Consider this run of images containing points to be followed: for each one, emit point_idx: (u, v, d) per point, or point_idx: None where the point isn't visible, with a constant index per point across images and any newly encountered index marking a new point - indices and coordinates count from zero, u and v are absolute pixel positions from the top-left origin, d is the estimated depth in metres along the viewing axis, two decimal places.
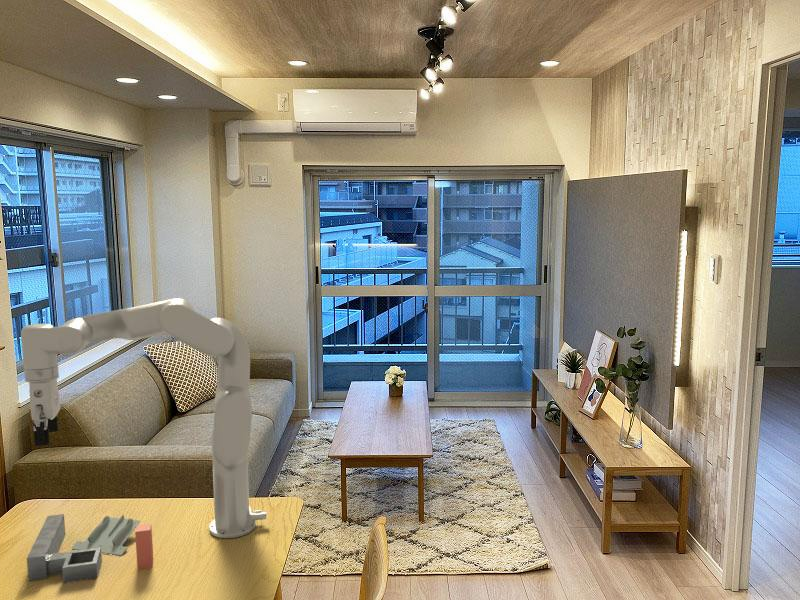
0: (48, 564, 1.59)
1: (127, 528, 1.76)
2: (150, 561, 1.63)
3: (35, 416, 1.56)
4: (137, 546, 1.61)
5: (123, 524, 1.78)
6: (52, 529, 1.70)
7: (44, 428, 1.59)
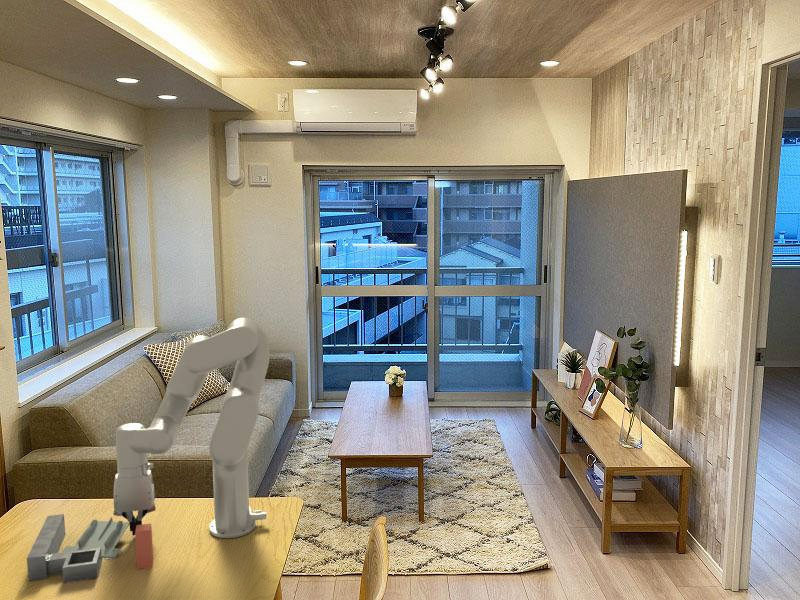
0: (48, 564, 1.59)
1: (117, 530, 1.75)
2: (150, 561, 1.63)
3: (155, 507, 1.78)
4: (137, 546, 1.61)
5: (112, 527, 1.77)
6: (52, 529, 1.70)
7: None
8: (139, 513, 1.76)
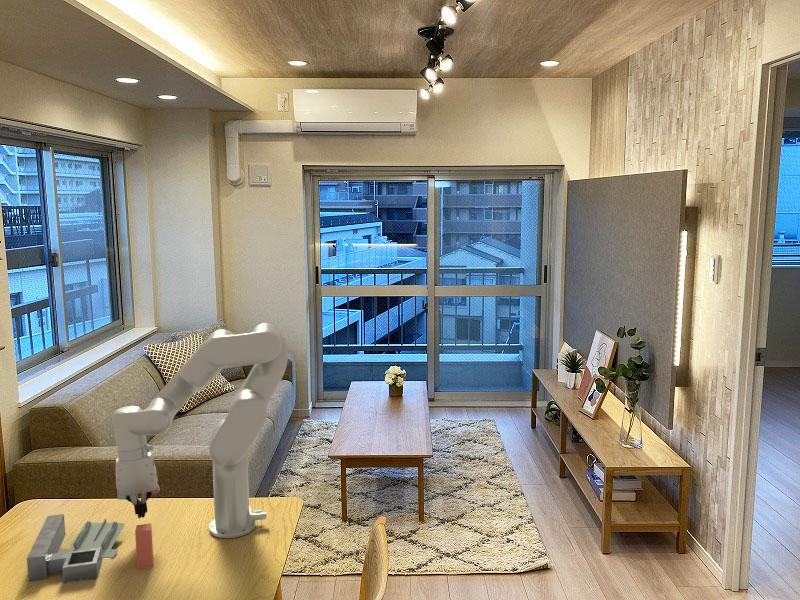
0: (48, 564, 1.59)
1: (113, 531, 1.75)
2: (150, 561, 1.63)
3: (159, 489, 1.77)
4: (137, 546, 1.61)
5: (107, 528, 1.76)
6: (52, 529, 1.70)
7: None
8: (143, 495, 1.75)
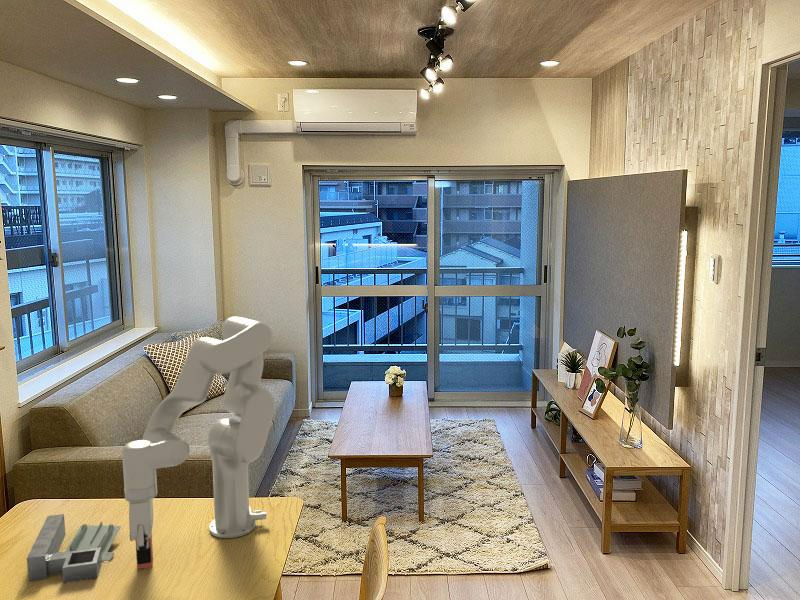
0: (48, 564, 1.59)
1: (109, 534, 1.73)
2: None
3: None
4: None
5: (103, 531, 1.75)
6: (52, 529, 1.70)
7: None
8: None
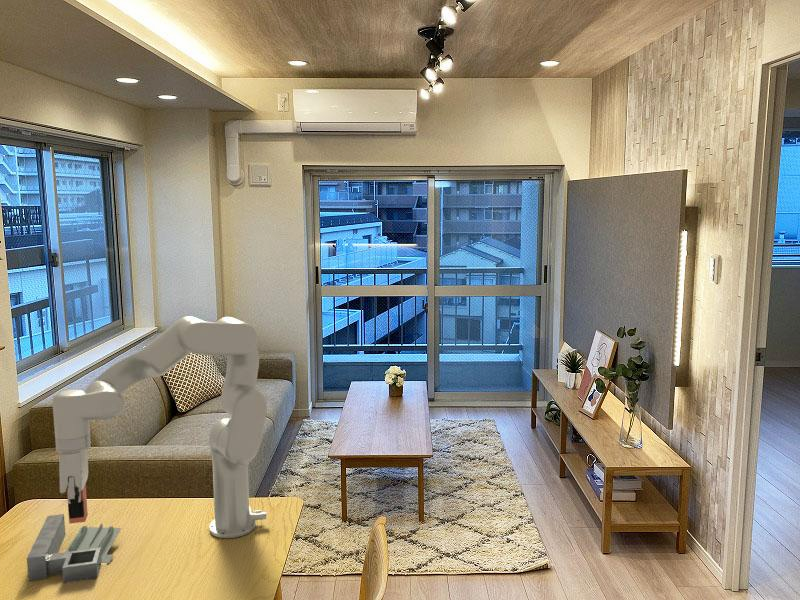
0: (48, 564, 1.59)
1: (109, 536, 1.72)
2: (83, 516, 1.57)
3: None
4: None
5: (103, 533, 1.74)
6: (52, 529, 1.70)
7: None
8: None
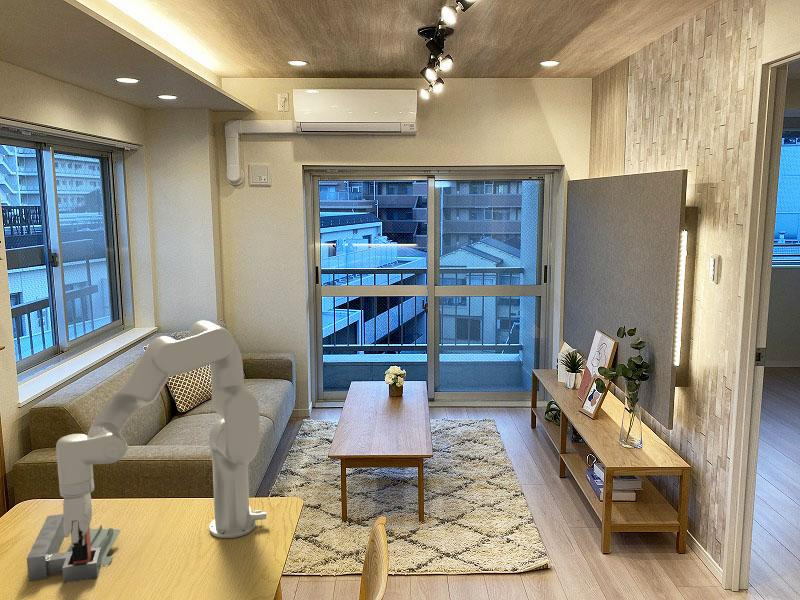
0: (48, 564, 1.59)
1: (108, 538, 1.71)
2: (87, 560, 1.59)
3: None
4: None
5: (103, 534, 1.73)
6: (52, 529, 1.70)
7: None
8: None
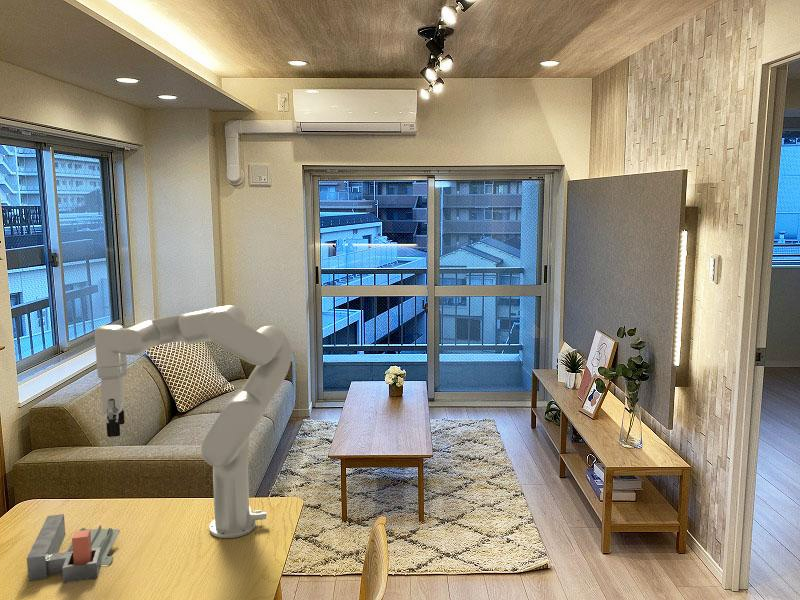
0: (48, 564, 1.59)
1: (108, 538, 1.71)
2: None
3: None
4: (74, 553, 1.58)
5: (102, 534, 1.73)
6: (52, 529, 1.70)
7: None
8: None
